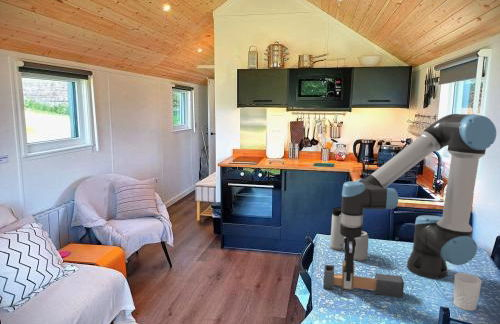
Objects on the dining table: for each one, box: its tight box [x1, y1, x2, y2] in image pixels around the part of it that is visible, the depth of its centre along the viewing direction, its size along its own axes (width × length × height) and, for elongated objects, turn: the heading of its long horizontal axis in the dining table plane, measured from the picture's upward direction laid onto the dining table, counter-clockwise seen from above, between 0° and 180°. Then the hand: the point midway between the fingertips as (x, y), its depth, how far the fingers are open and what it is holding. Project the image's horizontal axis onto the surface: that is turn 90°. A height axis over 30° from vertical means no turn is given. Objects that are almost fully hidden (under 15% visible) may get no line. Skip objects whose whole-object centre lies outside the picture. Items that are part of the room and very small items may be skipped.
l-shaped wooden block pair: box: [333, 260, 377, 291], centre depth 132 cm, size 18×4×9 cm, turn 77°
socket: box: [323, 264, 335, 291], centre depth 134 cm, size 4×6×7 cm, turn 167°
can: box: [354, 230, 370, 262], centre depth 159 cm, size 8×8×12 cm
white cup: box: [453, 272, 482, 312], centre depth 122 cm, size 8×8×10 cm
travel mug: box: [329, 206, 345, 252], centre depth 169 cm, size 6×7×20 cm
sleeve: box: [374, 272, 405, 299], centre depth 130 cm, size 9×5×6 cm, turn 77°
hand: (347, 284), depth 133 cm, fingers closed on l-shaped wooden block pair, 4 cm apart
